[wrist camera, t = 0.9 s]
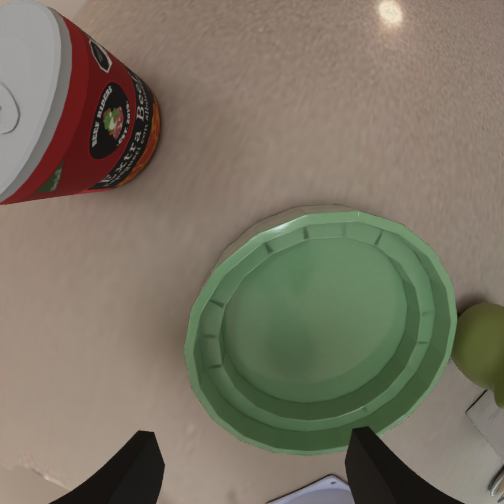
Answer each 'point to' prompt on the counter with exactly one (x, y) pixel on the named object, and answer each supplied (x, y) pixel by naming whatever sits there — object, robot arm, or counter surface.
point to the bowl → (319, 329)
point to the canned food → (66, 109)
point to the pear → (482, 347)
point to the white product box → (489, 421)
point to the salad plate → (498, 486)
